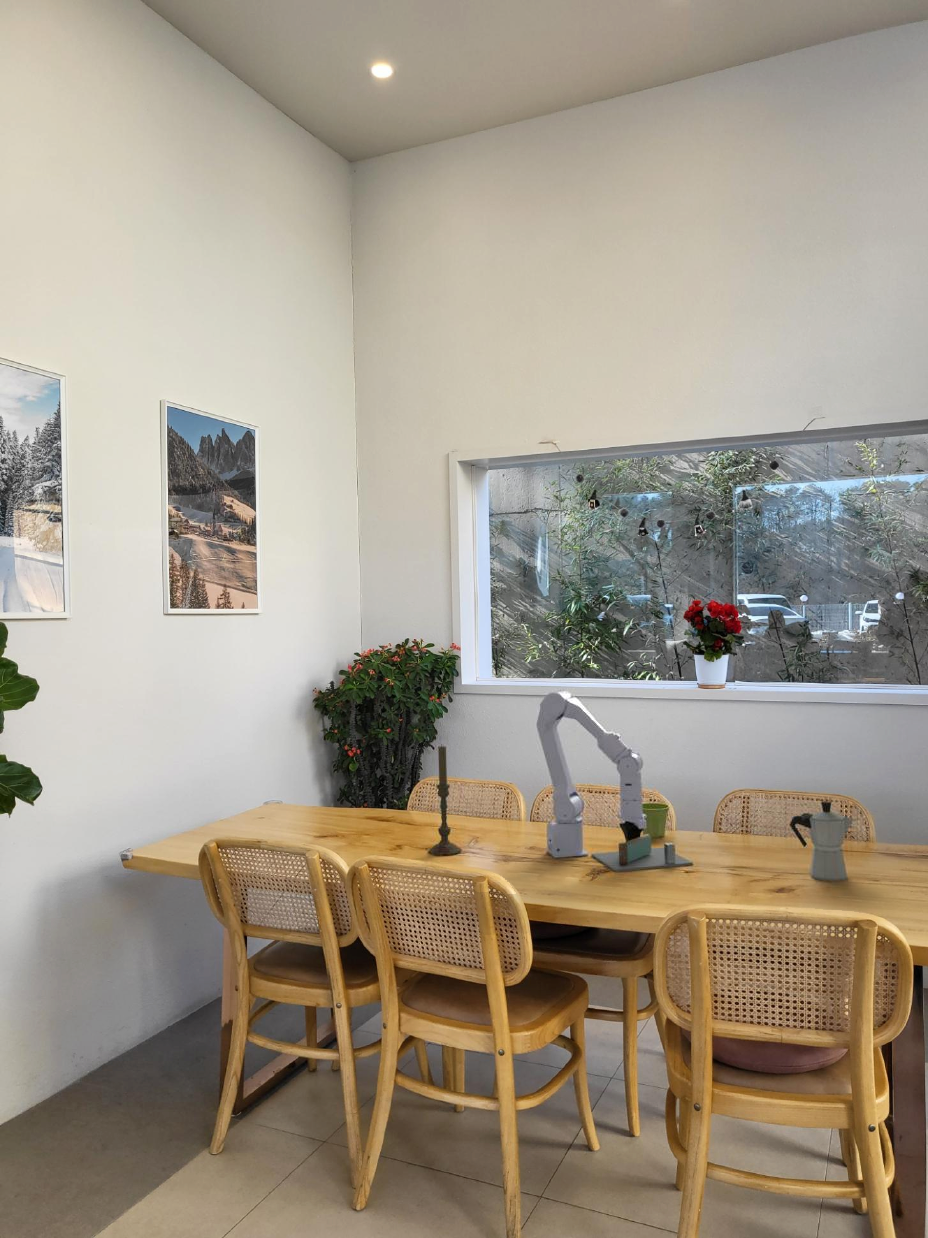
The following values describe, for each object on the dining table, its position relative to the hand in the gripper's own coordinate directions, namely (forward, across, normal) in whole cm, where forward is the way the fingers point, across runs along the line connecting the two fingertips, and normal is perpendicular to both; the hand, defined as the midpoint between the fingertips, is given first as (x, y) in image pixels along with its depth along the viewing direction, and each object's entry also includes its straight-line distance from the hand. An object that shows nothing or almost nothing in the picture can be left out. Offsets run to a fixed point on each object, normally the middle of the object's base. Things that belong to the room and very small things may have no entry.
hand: (632, 850), depth 247 cm
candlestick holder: (+2, +23, +46) cm, 52 cm away
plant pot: (+2, +22, -16) cm, 27 cm away
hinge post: (+2, -8, +6) cm, 10 cm away
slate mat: (+2, -3, -1) cm, 4 cm away
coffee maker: (+2, -31, -36) cm, 48 cm away
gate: (+1, -3, 0) cm, 4 cm away
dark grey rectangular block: (+2, -10, -6) cm, 12 cm away
